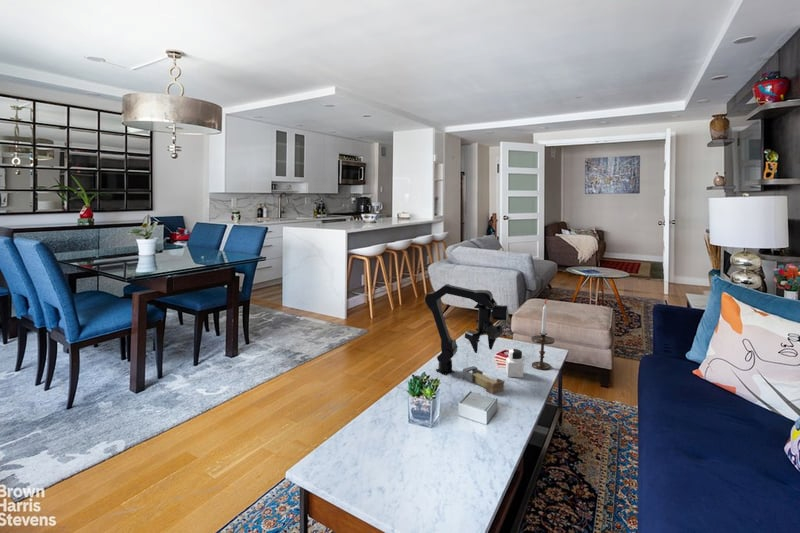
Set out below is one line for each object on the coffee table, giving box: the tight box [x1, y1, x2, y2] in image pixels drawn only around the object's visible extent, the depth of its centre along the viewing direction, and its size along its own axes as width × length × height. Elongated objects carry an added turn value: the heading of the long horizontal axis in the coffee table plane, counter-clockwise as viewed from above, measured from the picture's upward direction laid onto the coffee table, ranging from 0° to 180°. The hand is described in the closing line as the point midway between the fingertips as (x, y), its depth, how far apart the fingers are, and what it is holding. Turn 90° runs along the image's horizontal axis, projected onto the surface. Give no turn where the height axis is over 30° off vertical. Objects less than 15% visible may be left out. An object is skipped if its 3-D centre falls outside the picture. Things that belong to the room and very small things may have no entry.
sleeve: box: [462, 365, 484, 384], centre depth 201 cm, size 6×7×5 cm
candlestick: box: [531, 298, 555, 371], centre depth 215 cm, size 11×11×35 cm
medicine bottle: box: [505, 348, 525, 378], centre depth 207 cm, size 7×7×12 cm
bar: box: [473, 372, 497, 389], centre depth 195 cm, size 13×4×3 cm, turn 33°
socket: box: [485, 378, 505, 395], centre depth 189 cm, size 4×7×4 cm, turn 123°
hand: (483, 351), depth 201 cm, fingers open, 9 cm apart
